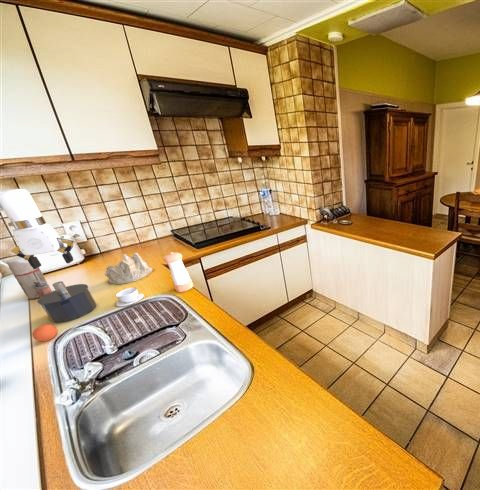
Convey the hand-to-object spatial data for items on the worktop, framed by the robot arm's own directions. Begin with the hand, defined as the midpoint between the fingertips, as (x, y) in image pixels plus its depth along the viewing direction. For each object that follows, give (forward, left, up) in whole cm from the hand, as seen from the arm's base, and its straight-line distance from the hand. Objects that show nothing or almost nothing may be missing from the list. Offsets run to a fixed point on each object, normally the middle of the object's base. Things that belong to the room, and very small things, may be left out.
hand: (54, 264), depth 104 cm
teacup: (+16, -3, -24) cm, 29 cm away
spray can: (-14, +41, -24) cm, 50 cm away
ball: (-9, -11, -21) cm, 26 cm away
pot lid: (-2, +5, -14) cm, 15 cm away
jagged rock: (+20, +27, -24) cm, 41 cm away
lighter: (-11, +32, -24) cm, 41 cm away
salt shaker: (+35, -11, -24) cm, 44 cm away
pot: (-2, +5, -24) cm, 25 cm away
